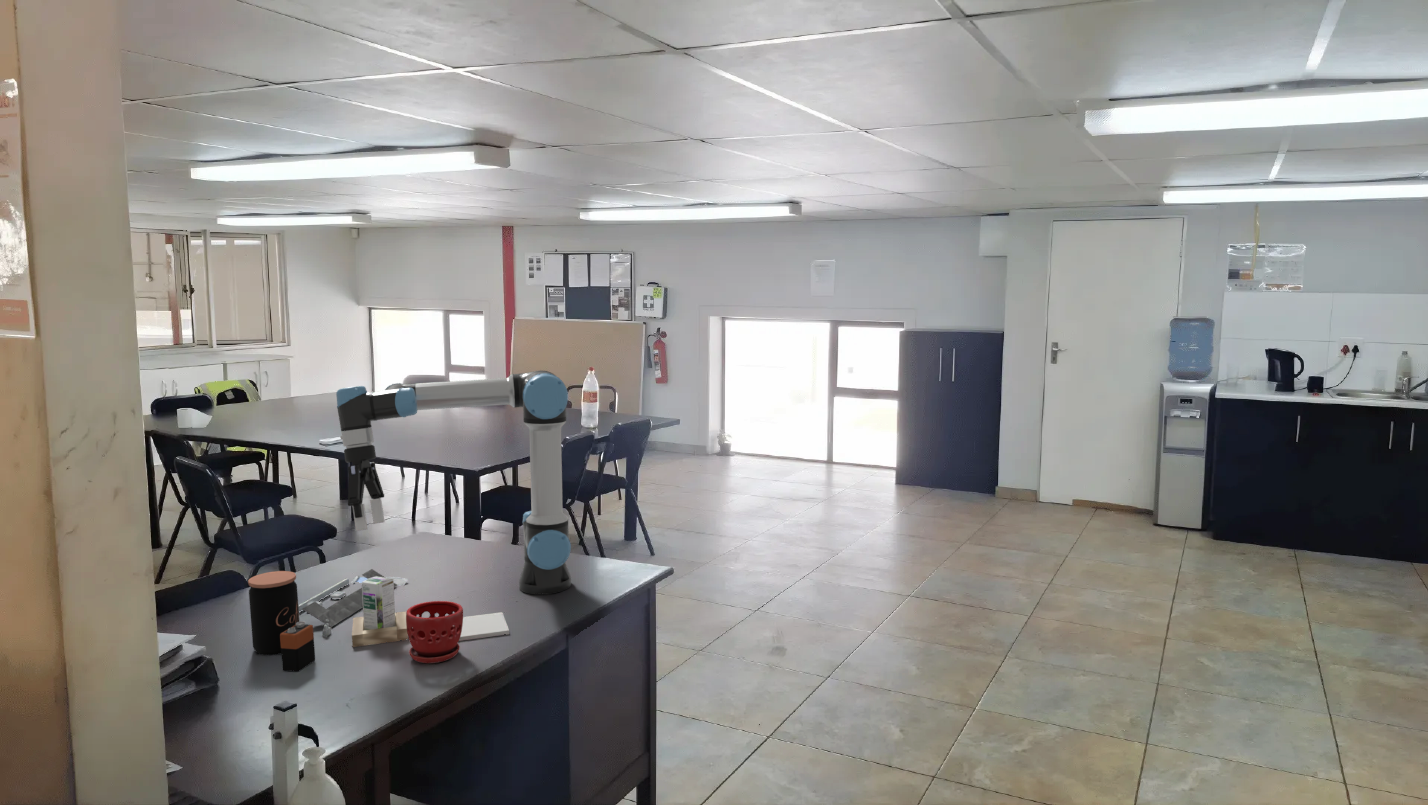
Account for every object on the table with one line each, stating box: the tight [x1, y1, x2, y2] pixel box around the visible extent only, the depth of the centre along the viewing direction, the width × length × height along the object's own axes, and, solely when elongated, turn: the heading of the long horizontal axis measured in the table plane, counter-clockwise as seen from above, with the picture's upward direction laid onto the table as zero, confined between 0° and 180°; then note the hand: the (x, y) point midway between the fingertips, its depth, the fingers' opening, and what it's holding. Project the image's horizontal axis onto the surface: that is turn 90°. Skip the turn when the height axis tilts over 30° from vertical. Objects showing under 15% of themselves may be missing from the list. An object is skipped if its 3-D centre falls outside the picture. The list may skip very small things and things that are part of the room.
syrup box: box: [361, 576, 396, 630], centre depth 232 cm, size 6×6×14 cm
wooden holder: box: [351, 610, 409, 648], centre depth 232 cm, size 13×13×3 cm
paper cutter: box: [298, 568, 409, 637], centre depth 254 cm, size 18×45×6 cm, turn 170°
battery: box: [280, 620, 316, 673], centre depth 213 cm, size 4×7×10 cm, turn 169°
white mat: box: [458, 611, 510, 642], centre depth 236 cm, size 14×14×1 cm
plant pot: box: [406, 600, 464, 664], centre depth 218 cm, size 13×13×12 cm
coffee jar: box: [247, 570, 300, 656], centre depth 223 cm, size 11×11×18 cm
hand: (370, 526), depth 236 cm, fingers open, 13 cm apart
